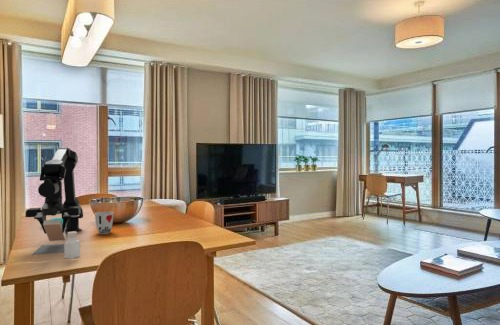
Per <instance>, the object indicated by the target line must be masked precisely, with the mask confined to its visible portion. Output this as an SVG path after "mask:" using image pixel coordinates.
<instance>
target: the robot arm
mask: <svg viewBox="0 0 500 325" xmlns="http://www.w3.org/2000/svg"><path fill="white" fill-rule="evenodd" d="M55 150H56V151H55V153H54V155H53V157H52V158H51V159H50V160H47V161H45V162H44V164H43V165H42V166H41V170H40V175H39V181H41V182H42V181H43V182H42V183H40V184H39V186H38V188H37V191H38V194H39V195H40V196H41V197H43V198H44V202H43V204H42V206H41V207H32V208H31V207H30V208H28V209H26V210H25V218H33V219H34V220H37V221H38V222H39V224H40V226H41V229H42V231H43V233H44V234H45V235H47V234H46V231H45V228H44V226H43V223H44V220H47V216H52V217H53V216H56V215H61V218H62V219H63V226H62V233H64V231H65V233H68V232H72V231H76V232H77V231H82V229H81V227H80V221H79V220H80V219H83V218H84V212H83V208H82V206H81V204H80V200H79V199H78V198H77V197H76V187H75V185H76V184H75V174H74V172H75V171H74V170H75V168H76V166H77V165H78V161H79V158H78V157H79V156H78V153H77V152H75V151H74V150H72V149H71V148H70V147H62V146H61V147H59V146H58V147H57V148H56V149H55ZM63 185H64V186H63ZM63 187H64V199H65V200H64V202H63Z"/></svg>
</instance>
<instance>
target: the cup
mask: <svg viewBox="0 0 500 325" xmlns="http://www.w3.org/2000/svg"><path fill="white" fill-rule="evenodd" d="M94 217H95V218H94V219H95V226H96V229H97V234H100V235H107V234H110V233H111V231H112V228H113V223H114V211H97V212H95V213H94Z"/></svg>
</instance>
